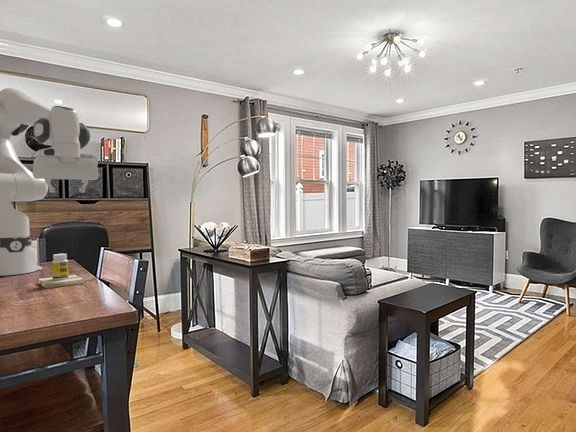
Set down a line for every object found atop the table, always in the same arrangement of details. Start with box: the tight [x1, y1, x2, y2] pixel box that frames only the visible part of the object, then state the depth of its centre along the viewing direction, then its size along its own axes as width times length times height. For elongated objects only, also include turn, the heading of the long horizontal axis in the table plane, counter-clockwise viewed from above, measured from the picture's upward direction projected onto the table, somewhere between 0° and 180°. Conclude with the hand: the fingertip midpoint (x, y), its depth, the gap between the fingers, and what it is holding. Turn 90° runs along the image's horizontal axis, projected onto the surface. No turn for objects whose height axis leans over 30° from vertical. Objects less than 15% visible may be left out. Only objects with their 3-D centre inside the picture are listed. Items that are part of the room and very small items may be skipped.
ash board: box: [37, 273, 85, 290], centre depth 134 cm, size 12×11×2 cm
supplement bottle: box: [51, 253, 69, 280], centre depth 134 cm, size 5×5×8 cm
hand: (67, 192), depth 139 cm, fingers open, 8 cm apart
